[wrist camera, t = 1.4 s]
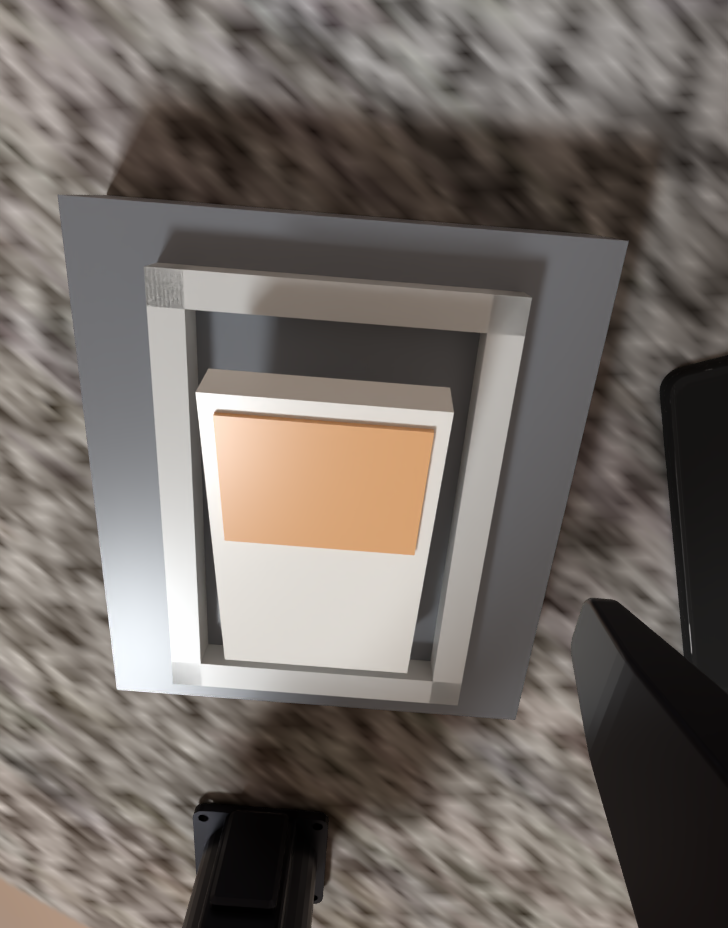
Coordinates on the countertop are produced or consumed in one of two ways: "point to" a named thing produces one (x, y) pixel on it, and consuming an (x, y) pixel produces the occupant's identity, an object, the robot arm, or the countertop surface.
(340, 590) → the rocker switch
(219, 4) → the countertop surface
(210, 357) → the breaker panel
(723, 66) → the countertop surface
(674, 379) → the smartphone
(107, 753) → the countertop surface
